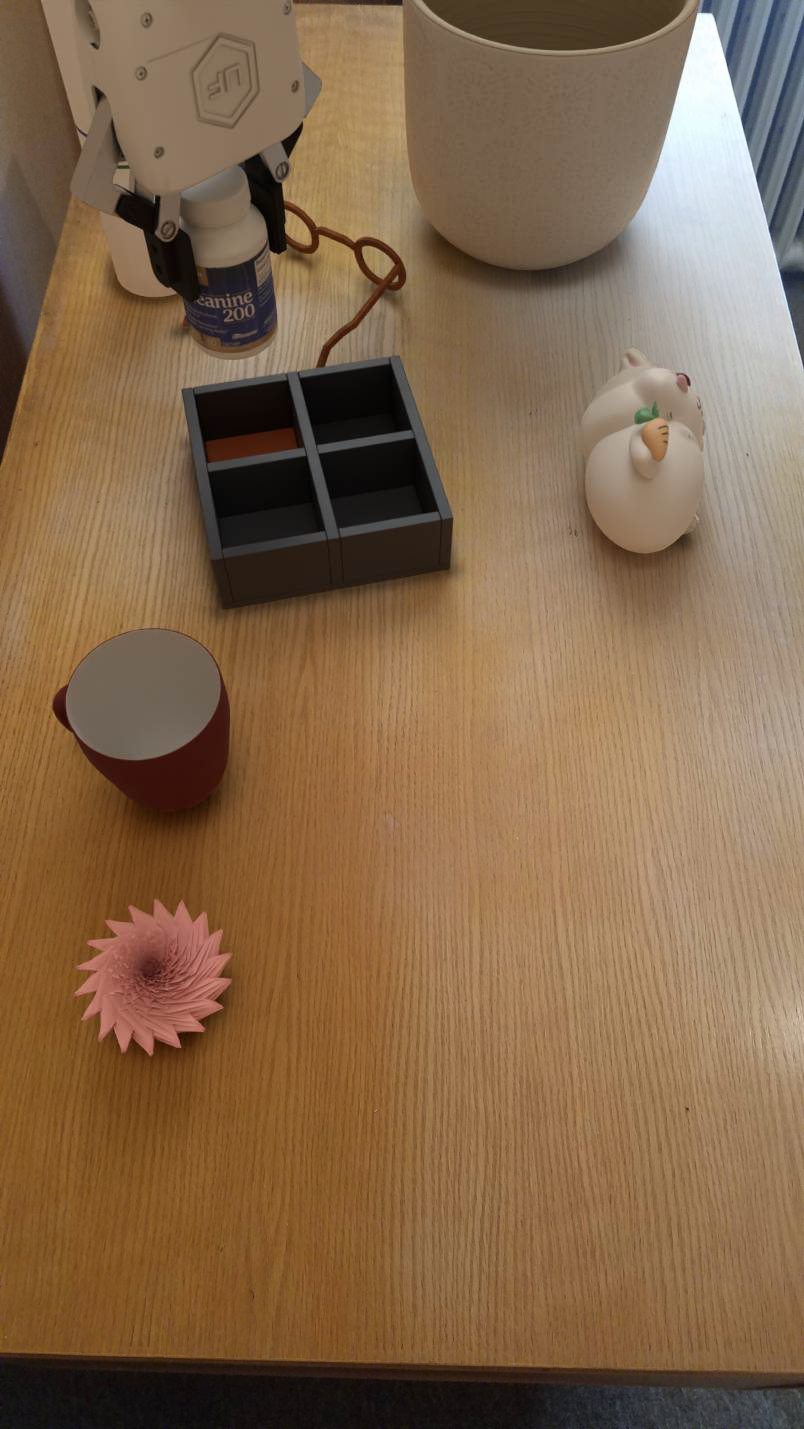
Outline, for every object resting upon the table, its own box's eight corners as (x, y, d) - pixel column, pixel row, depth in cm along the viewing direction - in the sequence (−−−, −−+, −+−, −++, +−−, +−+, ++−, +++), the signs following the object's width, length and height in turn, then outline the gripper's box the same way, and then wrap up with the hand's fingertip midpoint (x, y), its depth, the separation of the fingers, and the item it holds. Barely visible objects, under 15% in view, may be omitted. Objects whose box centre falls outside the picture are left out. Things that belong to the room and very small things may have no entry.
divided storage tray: (399, 409, 76) (399, 354, 72) (450, 568, 68) (453, 518, 64) (193, 442, 74) (181, 388, 70) (222, 609, 67) (210, 560, 62)
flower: (118, 1098, 51) (89, 1077, 47) (73, 957, 55) (42, 924, 50) (265, 1029, 53) (251, 1002, 48) (212, 897, 57) (194, 859, 52)
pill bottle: (180, 358, 61) (145, 206, 52) (203, 300, 63) (173, 146, 55) (268, 368, 60) (247, 216, 52) (287, 309, 63) (270, 155, 55)
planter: (633, 155, 92) (683, -94, 76) (657, 307, 82) (722, 57, 65) (404, 152, 93) (405, -97, 76) (399, 303, 82) (399, 52, 66)
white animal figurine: (687, 486, 60) (670, 294, 66) (560, 523, 64) (554, 339, 70) (731, 564, 67) (712, 385, 73) (614, 592, 71) (605, 420, 77)
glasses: (409, 299, 82) (409, 243, 78) (314, 393, 77) (309, 339, 72) (279, 242, 86) (272, 186, 82) (179, 328, 80) (167, 273, 76)
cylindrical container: (142, 233, 86) (57, -124, 65) (218, 253, 85) (156, -105, 64) (100, 284, 83) (-5, -75, 62) (178, 305, 82) (98, -54, 60)
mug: (51, 820, 59) (-9, 737, 50) (99, 703, 63) (52, 607, 54) (226, 854, 58) (195, 775, 49) (264, 734, 62) (242, 641, 53)
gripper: (31, -18, 38) (139, 370, 54) (372, -153, 44) (379, 231, 59) (-72, -87, 41) (59, 301, 56) (262, -206, 47) (297, 175, 62)
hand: (223, 262), depth 58 cm, fingers closed on pill bottle, 5 cm apart
